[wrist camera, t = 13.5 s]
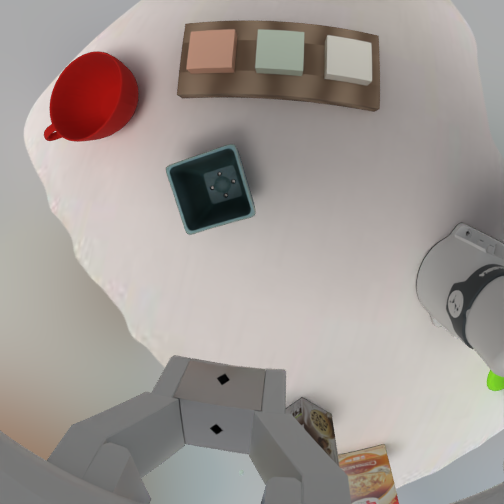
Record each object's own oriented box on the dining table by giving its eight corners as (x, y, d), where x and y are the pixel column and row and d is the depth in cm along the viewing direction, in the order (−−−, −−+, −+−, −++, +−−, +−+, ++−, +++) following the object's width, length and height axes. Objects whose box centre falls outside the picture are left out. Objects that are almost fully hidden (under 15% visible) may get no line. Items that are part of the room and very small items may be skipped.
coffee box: (279, 412, 54) (277, 476, 38) (302, 396, 52) (305, 462, 37) (310, 429, 55) (314, 489, 39) (333, 414, 53) (341, 476, 38)
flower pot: (261, 205, 42) (256, 216, 34) (204, 221, 44) (186, 236, 35) (244, 146, 40) (234, 142, 32) (186, 165, 42) (164, 167, 33)
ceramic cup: (63, 110, 40) (26, 105, 31) (137, 53, 37) (106, 33, 27) (85, 170, 43) (47, 174, 34) (165, 115, 40) (136, 104, 30)
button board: (373, 41, 33) (378, 35, 31) (374, 111, 37) (379, 108, 34) (190, 30, 35) (185, 24, 33) (182, 98, 39) (176, 94, 36)
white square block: (362, 54, 34) (371, 42, 29) (362, 89, 36) (372, 81, 31) (322, 47, 34) (327, 35, 30) (321, 83, 36) (326, 73, 31)
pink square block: (239, 42, 35) (234, 29, 30) (236, 77, 37) (231, 67, 32) (200, 43, 36) (190, 31, 31) (196, 78, 37) (186, 69, 33)
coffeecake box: (384, 443, 55) (400, 505, 37) (383, 456, 57) (396, 515, 39) (325, 456, 58) (330, 521, 39) (327, 469, 60) (331, 529, 41)
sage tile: (302, 45, 34) (304, 32, 30) (300, 81, 36) (303, 71, 32) (260, 42, 35) (257, 29, 30) (258, 78, 37) (255, 67, 32)
